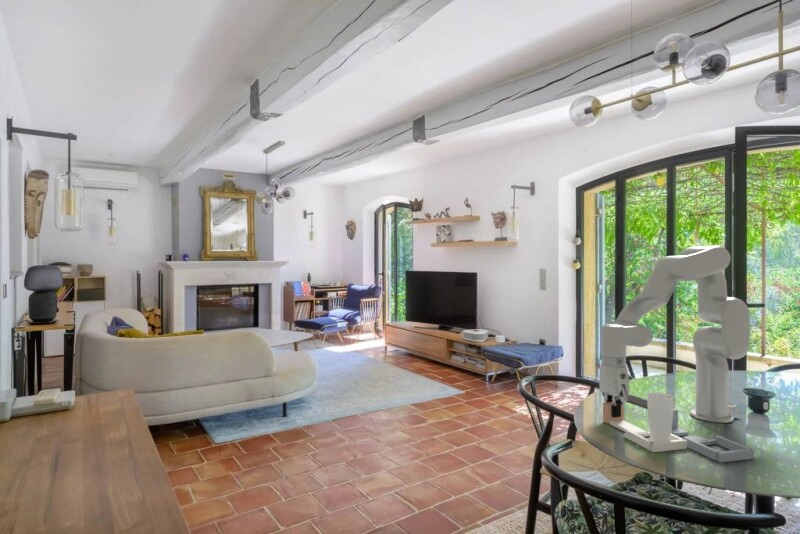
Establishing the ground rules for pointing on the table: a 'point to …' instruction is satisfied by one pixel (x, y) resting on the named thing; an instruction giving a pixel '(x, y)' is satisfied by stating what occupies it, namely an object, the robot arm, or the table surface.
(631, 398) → the smartphone
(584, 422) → the table surface
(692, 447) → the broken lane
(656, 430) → the drinking glass
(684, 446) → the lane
